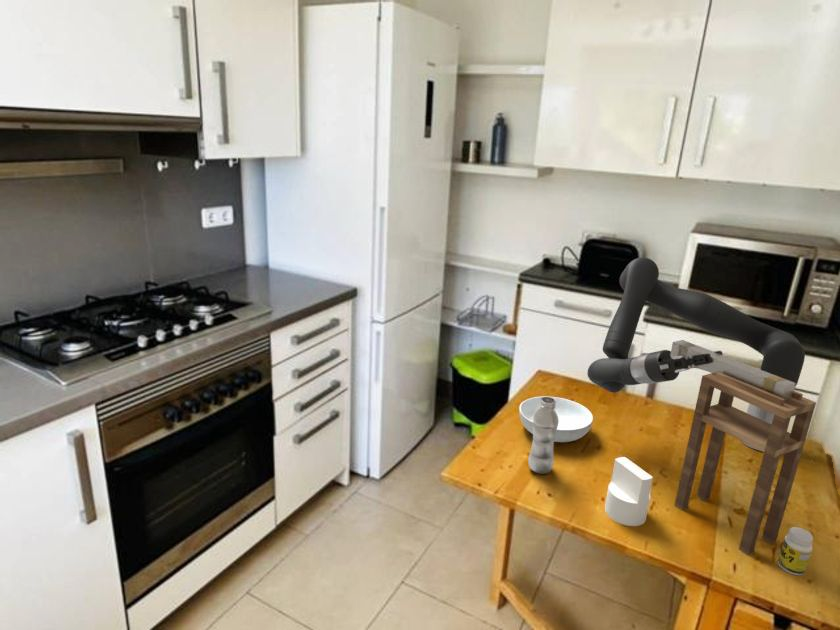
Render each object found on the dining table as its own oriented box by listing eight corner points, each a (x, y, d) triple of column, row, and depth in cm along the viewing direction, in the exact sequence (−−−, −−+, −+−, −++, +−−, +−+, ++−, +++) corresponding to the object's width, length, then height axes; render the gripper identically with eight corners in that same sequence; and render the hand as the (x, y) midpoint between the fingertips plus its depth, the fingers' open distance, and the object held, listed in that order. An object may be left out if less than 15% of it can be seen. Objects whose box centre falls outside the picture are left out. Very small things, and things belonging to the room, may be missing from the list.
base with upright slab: (596, 505, 129) (603, 461, 125) (626, 497, 132) (634, 453, 129) (624, 530, 121) (632, 483, 117) (654, 520, 125) (664, 475, 121)
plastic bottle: (555, 466, 144) (564, 397, 138) (549, 480, 138) (558, 408, 132) (530, 460, 146) (538, 391, 140) (524, 473, 140) (532, 402, 134)
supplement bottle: (772, 559, 114) (781, 525, 112) (793, 558, 115) (803, 524, 112) (788, 576, 110) (799, 542, 107) (810, 575, 110) (821, 541, 108)
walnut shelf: (702, 494, 135) (732, 363, 124) (776, 541, 120) (817, 396, 109) (674, 505, 130) (703, 370, 119) (747, 555, 115) (788, 406, 104)
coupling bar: (680, 353, 132) (682, 339, 131) (791, 399, 110) (795, 383, 109) (670, 355, 130) (672, 341, 129) (781, 402, 109) (785, 386, 107)
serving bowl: (598, 428, 164) (601, 407, 162) (577, 460, 147) (580, 438, 145) (532, 408, 174) (534, 389, 172) (505, 436, 157) (507, 415, 155)
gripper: (630, 356, 134) (690, 344, 119) (669, 348, 141) (731, 336, 126) (638, 387, 133) (699, 378, 118) (677, 377, 140) (740, 368, 124)
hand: (715, 356), depth 122 cm, fingers closed on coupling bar, 3 cm apart
